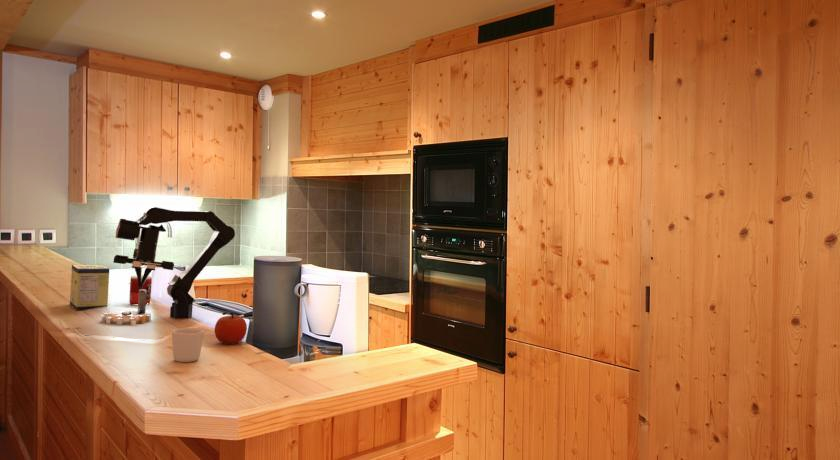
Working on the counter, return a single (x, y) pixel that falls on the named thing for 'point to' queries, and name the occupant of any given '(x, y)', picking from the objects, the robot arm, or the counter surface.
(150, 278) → the canned food
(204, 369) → the counter surface
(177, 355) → the cup
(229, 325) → the fruit
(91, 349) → the counter surface
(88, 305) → the protein box
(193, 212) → the robot arm
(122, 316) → the sprocket
